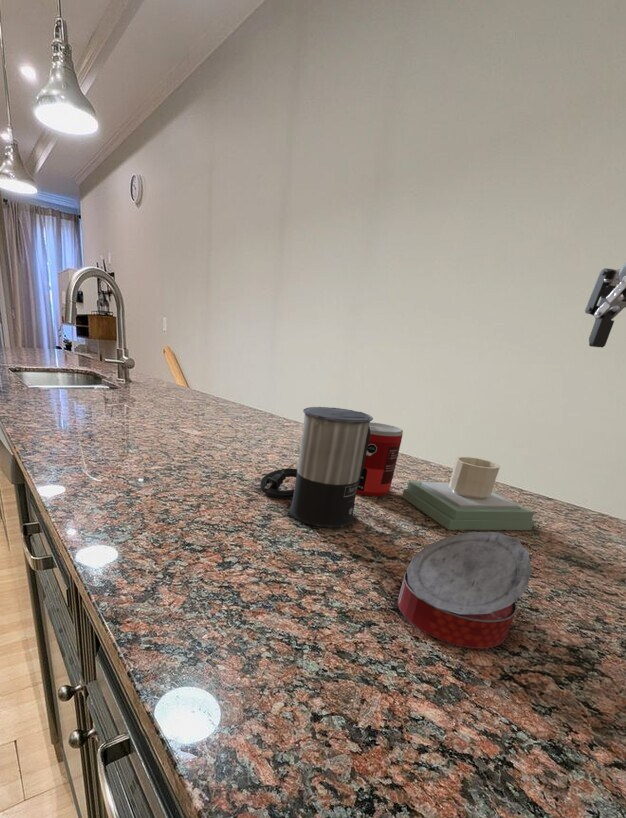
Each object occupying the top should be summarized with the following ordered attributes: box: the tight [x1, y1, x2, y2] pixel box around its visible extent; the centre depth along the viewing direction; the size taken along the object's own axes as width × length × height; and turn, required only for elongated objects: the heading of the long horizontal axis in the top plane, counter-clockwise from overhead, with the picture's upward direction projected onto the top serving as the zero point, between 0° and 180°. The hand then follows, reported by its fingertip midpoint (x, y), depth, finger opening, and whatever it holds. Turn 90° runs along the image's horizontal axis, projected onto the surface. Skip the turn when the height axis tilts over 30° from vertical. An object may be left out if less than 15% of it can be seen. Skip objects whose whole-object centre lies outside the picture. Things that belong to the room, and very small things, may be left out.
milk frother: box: [259, 406, 374, 529], centre depth 64 cm, size 14×16×15 cm
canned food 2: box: [397, 531, 533, 649], centre depth 42 cm, size 11×10×10 cm
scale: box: [401, 480, 535, 531], centre depth 70 cm, size 14×13×3 cm
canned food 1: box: [356, 421, 404, 497], centre depth 75 cm, size 8×8×11 cm
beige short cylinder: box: [449, 456, 501, 499], centre depth 68 cm, size 6×6×5 cm
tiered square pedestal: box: [421, 481, 520, 509], centre depth 70 cm, size 10×10×2 cm
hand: (623, 348), depth 62 cm, fingers open, 8 cm apart
